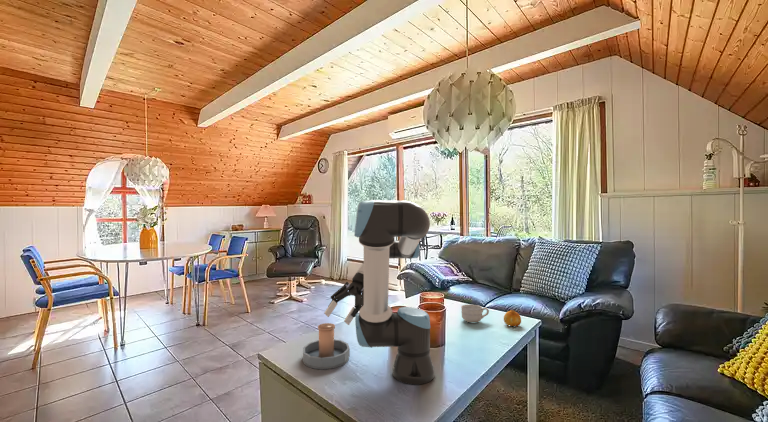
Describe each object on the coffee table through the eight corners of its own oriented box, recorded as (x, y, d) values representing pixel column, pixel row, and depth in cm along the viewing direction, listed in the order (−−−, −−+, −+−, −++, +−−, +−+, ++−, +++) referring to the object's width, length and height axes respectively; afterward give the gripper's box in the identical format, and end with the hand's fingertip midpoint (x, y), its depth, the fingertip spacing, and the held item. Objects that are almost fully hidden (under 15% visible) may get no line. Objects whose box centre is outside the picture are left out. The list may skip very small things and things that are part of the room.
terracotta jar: (338, 356, 138) (338, 326, 137) (324, 361, 133) (324, 330, 133) (328, 350, 142) (328, 322, 142) (314, 355, 138) (314, 325, 137)
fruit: (515, 325, 169) (518, 309, 172) (499, 323, 174) (502, 307, 178) (522, 330, 174) (524, 315, 177) (506, 328, 179) (508, 312, 183)
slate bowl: (358, 359, 137) (358, 348, 137) (319, 374, 125) (319, 362, 125) (331, 345, 150) (331, 335, 150) (294, 358, 138) (294, 347, 138)
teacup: (460, 323, 178) (460, 308, 178) (462, 317, 188) (462, 302, 188) (488, 326, 174) (488, 311, 174) (488, 319, 184) (489, 305, 184)
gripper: (388, 286, 144) (360, 331, 134) (350, 277, 162) (323, 316, 152) (379, 275, 140) (350, 321, 130) (341, 267, 158) (313, 307, 148)
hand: (335, 319), depth 141 cm, fingers open, 13 cm apart
